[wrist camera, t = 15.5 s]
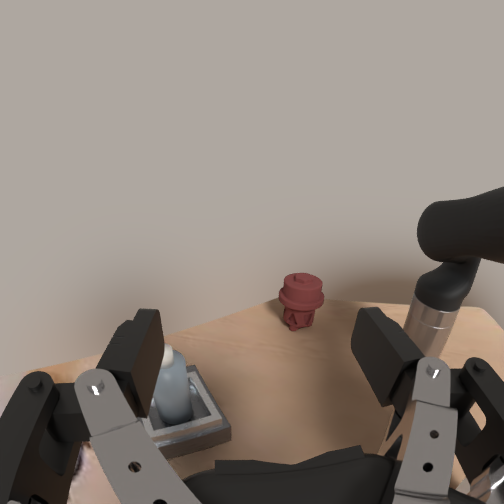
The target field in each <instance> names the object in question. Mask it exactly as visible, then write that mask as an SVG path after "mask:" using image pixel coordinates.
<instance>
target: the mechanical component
mask: <svg viewBox="0 0 504 504" xmlns="http://www.w3.org/2000/svg"><path fill="white" fill-rule="evenodd" d="M321 290H322V281H321V280H320V279H319V278H318V277H316V276H313V275H310V274H307V273H295V274H290V275H288V276H286V277H285V279H284V287H283V288H281V289H280V291H279V301H280V302H281V303H282V304H283V305H284V306H285V309H284V316H283V318H284V321H285V322H286V323H288V324H289V325H290V328H289V329H290V330H291V331H296V330H297V329H299V328H302V327H309V326H312V323H313V320H314V314H315V309H317V308H319V307H321V306H322V304H323V301H324V294H323V293H322V292H321Z"/></svg>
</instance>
